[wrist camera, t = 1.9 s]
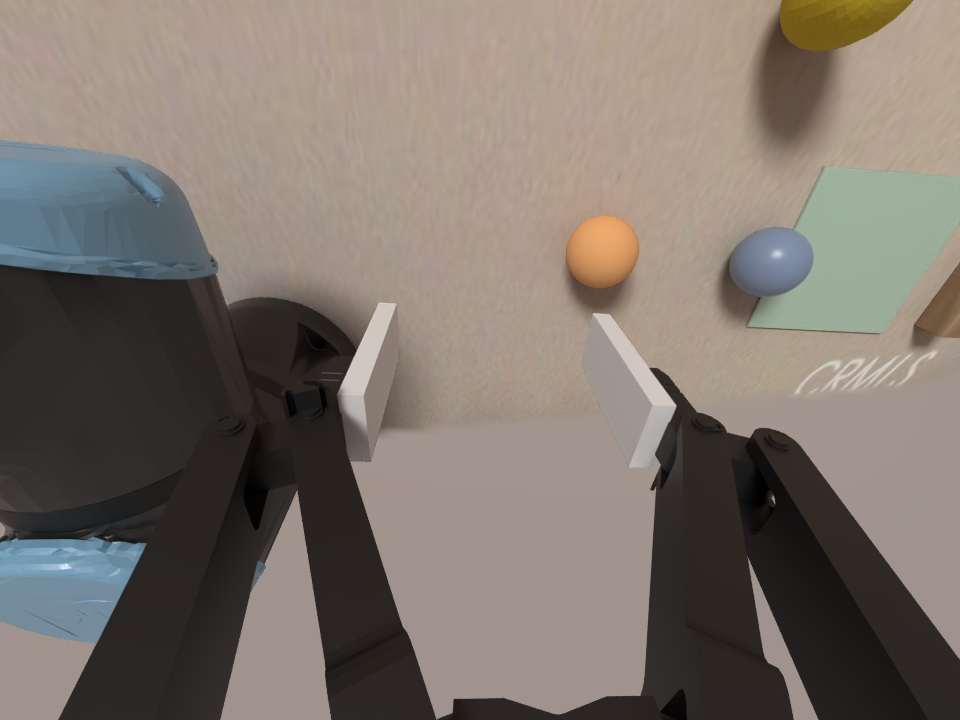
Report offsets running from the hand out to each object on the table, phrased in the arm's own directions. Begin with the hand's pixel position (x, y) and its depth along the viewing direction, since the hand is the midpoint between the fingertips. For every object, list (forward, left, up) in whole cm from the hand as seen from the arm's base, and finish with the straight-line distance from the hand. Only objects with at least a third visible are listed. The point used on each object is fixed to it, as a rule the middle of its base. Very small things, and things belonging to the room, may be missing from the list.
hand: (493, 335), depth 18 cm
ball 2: (+24, 0, -15) cm, 28 cm away
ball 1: (+10, 0, -15) cm, 17 cm away
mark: (+34, 0, -17) cm, 38 cm away
